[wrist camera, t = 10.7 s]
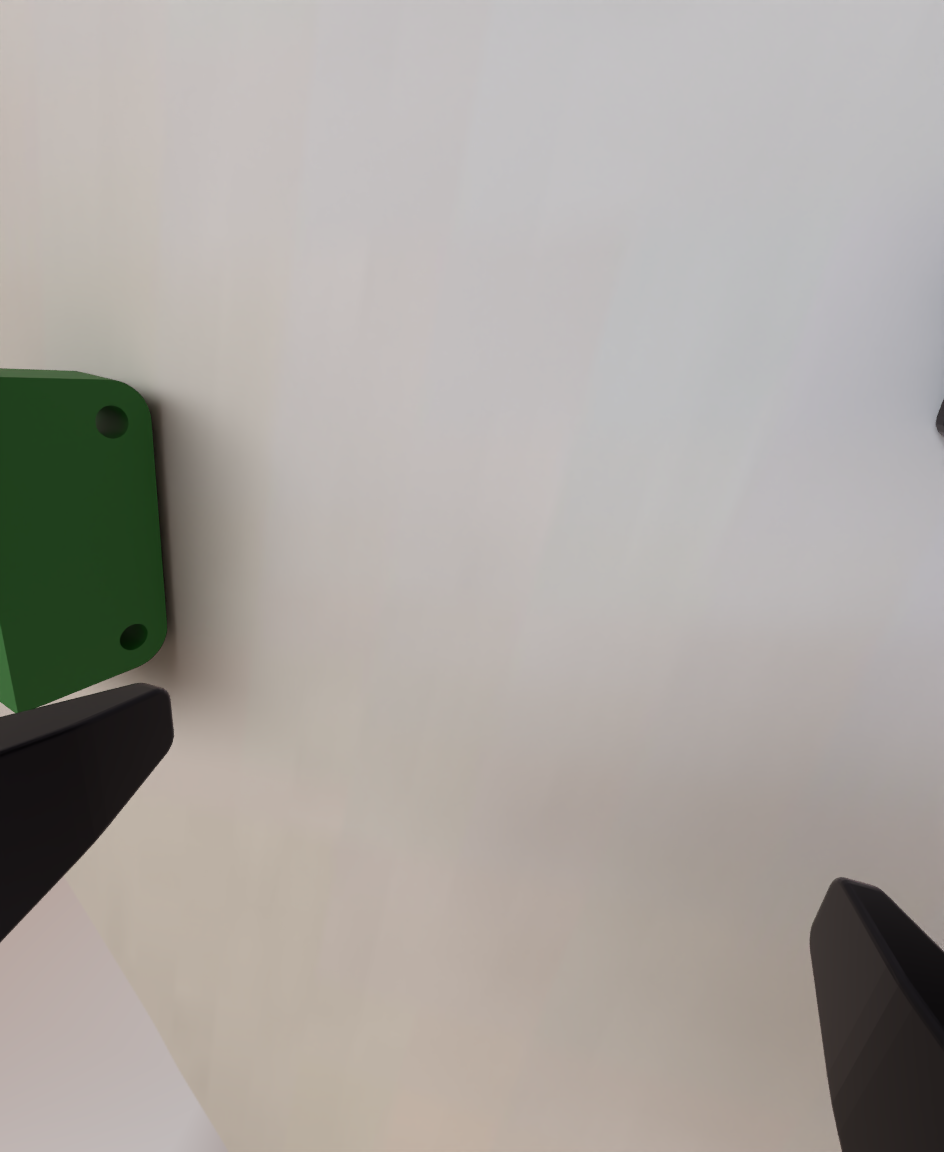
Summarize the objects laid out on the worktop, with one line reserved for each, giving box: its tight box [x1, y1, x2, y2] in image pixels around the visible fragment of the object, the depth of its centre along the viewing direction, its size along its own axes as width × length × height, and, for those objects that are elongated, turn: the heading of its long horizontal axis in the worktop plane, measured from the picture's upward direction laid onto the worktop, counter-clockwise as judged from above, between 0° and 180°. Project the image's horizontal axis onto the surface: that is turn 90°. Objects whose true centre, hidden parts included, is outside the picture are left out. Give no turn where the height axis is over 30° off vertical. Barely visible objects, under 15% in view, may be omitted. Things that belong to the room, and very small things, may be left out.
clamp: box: [0, 368, 167, 713], centre depth 21 cm, size 12×6×9 cm, turn 166°
